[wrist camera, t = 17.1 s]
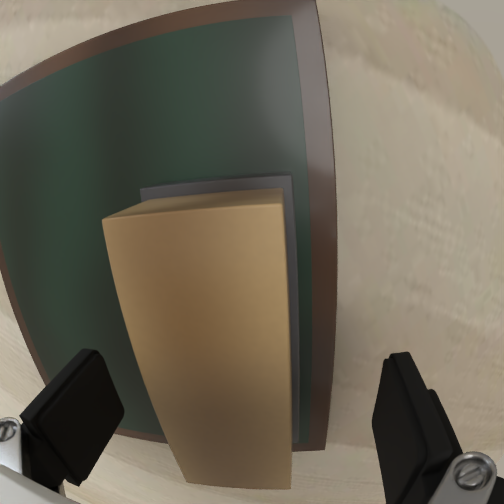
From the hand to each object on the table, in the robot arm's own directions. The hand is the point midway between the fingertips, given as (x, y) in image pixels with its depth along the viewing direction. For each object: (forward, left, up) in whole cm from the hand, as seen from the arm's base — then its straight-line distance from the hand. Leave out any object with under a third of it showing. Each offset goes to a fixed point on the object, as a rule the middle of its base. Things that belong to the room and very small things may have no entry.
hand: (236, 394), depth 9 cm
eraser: (+1, 0, -4) cm, 4 cm away
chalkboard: (+5, -2, -5) cm, 8 cm away
